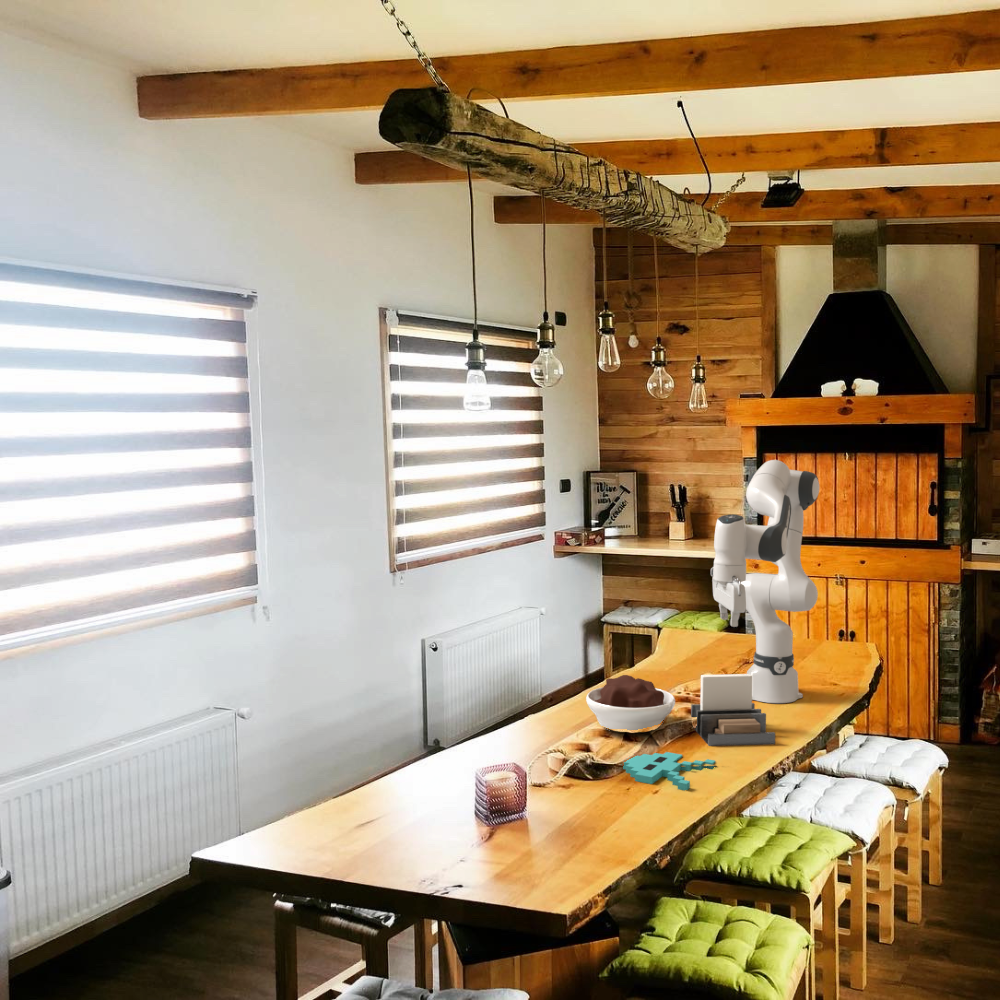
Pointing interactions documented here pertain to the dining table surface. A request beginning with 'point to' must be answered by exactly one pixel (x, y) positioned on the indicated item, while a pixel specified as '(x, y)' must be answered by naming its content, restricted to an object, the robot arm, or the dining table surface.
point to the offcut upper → (739, 726)
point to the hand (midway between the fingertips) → (728, 622)
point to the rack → (709, 723)
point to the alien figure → (662, 768)
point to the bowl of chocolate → (629, 703)
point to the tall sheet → (726, 692)
